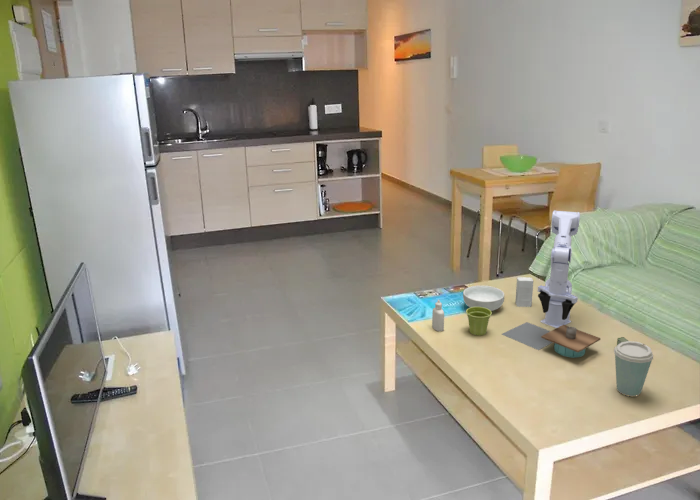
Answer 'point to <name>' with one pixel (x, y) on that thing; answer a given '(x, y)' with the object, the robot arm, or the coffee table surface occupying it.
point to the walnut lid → (570, 338)
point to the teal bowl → (568, 351)
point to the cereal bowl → (483, 297)
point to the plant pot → (478, 320)
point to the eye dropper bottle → (438, 317)
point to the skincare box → (524, 291)
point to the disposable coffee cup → (632, 366)
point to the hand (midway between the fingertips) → (554, 315)
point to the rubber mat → (529, 335)
